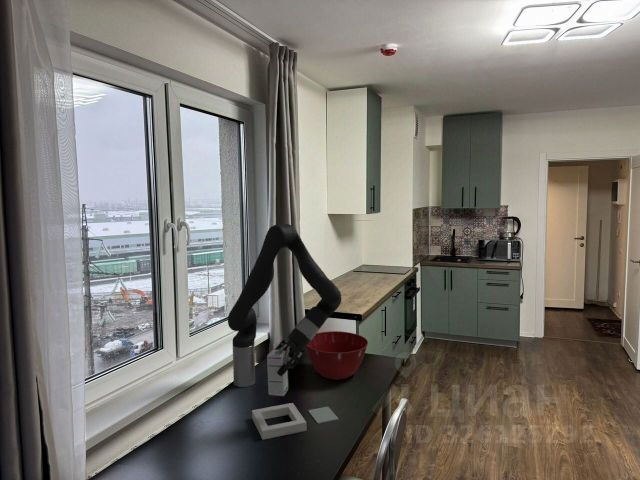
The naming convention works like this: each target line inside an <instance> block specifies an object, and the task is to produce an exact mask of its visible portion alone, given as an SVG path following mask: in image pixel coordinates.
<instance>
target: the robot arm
mask: <svg viewBox="0 0 640 480" xmlns="http://www.w3.org/2000/svg"><path fill="white" fill-rule="evenodd" d="M283 248H287V249H288V250H289V251H290V252H291V253H292V254H293V255H294V257H295V259H296V261H297V266H298V269H299V271H300V273H301V275H302V277H303V278H304V280H305V281H306V283H308V285H309V286H310V287H311V288H312V289H313V290H315V292H316V293H317V295H318V296H319V297H320V298H321V299H320V300H319V301H318V303H316V305H315V306H312V307H311V308H310V309H309V310H308V311H307V313H306V314H305V315H304V316H303V318H301V320H299V321H298V323H297V324H296V325H295V326H294V328H293V329H292V330H291V332H290V333H289V334H288V335H287V339H288V341H286V340H285V339H281V341H280V342H279V344H278V345H277V346H276V347H274V350H286V356H285V362H284V364H283V365H282V366H281V368H280V369H279V370H278V371H277V374H278V375H280V376H283V374H284V373H285V372H286V371H287V369H294V368H295V367H296V365H298V363H299V362H300V361H301V359H302V358H303V357H304V354H303V352H302V351H304V350H306V349H307V346H308V344H309V343H310V342H311V340H312V339H313V338H314V337H315V335H316V334H317V333H319V330H320V329H321V328H322V326H323V325H324V323H326V321H327V320H328V318H330V317H331V315H333V313H334V312H336V310H338V308H340V305H341V303H342V294H341V291H340V289H339V287H337V286H336V284H334V282H333V281H332V280H331V279H330V278H329V277H328V276H327V275H326V273H325V272H324V271H323V270H322V268H321V267H320V266H319V265H318V264H317V262H316V261H315V260H314V258H313V257H312V255H311V254H310V251H309V250H308V249H307V247H306V245H305V243H304V242H303V239H302V238H301V236H300V234H299V233H298V231H297V229H296V228H295V227H294V226H293V225H291V224H289V223H280V224H279V223H277V224H274V225H271V226H270V227H269V228H268V230H267V231H266V235H265V237H264V240H263V242H262V246H261V249H260V251H259V253H258V256H257V258H256V260H255V264H254V265H253V267H252V269H251V271H250V273H249V275H248V277H247V279H246V282H245V284H244V286H243V288H242V290H241V293H240V294H239V296H238V299H237V300H236V302H235V303H234V305H233V307H232V308H231V310H230V312H229V313H228V317H227V325H228V328H230V330H232V331H233V332H237V333H236V334H235V335H234V336H233V338H232V369H233V370H232V372H233V373H232V374H233V377H232V378H233V385H234V386H235V387H238V388H246V387H247V388H249V387H251V386H253V385H255V384H256V361H255V360H256V357H255V356H256V355H255V353H256V352H255V347H256V346H255V340H256V338H257V313H256V311H255V310H254V308H253V307H254V306H255V304H256V303H257V302H259V300H261V298H262V297H264V295H265V294H266V292H267V291H268V289H269V288H270V286H271V284H272V282H273V279H274V276H275V268H274V267H275V266H274V265H275V264H274V263H275V259H276V258H277V256H278V253H279V252H280V250H281V249H283ZM301 350H302V351H301Z"/></svg>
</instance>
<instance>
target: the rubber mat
mask: <svg viewBox="0 0 640 480" xmlns="http://www.w3.org/2000/svg"><path fill="white" fill-rule="evenodd" d="M307 411H308V413H309V414H310V415H311V417H312V418H313V419H314V421H315V422H316V424H317V425H319V424H324V423H329V422H333V421H339V420H340V419H339V417H338V416H337V415H336V414H335V412H333V410H332V409H331V408H330V407H329V406H324V407H319V408H313V409H308V410H307Z"/></svg>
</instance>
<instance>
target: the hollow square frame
mask: <svg viewBox="0 0 640 480" xmlns="http://www.w3.org/2000/svg"><path fill="white" fill-rule="evenodd" d="M284 416H288V417H289V418H290V420H291V421H289V422H288V421H287V422H283V423H282V422H281V423H277V424H276V423H275V424H272V425H271V424H270V425H268V424H267V422H266V420H267V419H274V418H277V417H284ZM251 419H252V421H253V423H254V424H255V427H256V429H257V431H258V433H259V435H260V437H261V439H262V441H264V440H269V439H273V438H279V437H281V436H283V437H284V436H286V435H291V434H297V433H302V432H307V430H308V429H307V428H308V427H307V424H308V423H307V421H306V420H305V418H304V417H303V415H302V414H301V413H300V411H299V409H298V408H297V407H296V405H295V404H294V403H293V402H291V403H290V402H289V403H285V404H279V405H273V406H269V407H268V406H267V407H264V408H258V409H253V410H251Z"/></svg>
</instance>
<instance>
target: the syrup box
mask: <svg viewBox="0 0 640 480" xmlns="http://www.w3.org/2000/svg"><path fill="white" fill-rule="evenodd" d="M285 356H286V350H279V349H278V350H275V349H272V350H271V351H270V352H269V353H268V354H267V355H266V361H267V364H266V366H267V386H268V387H267V388H268V389H267V390H268V392H267V393H268V395H270V396H277V397H284V396H285V395H286V394H287V392H288V390H289V370H288V369H289V368H288V369H287V371H286V372H285V373H284V374H283V376H280V375H278V374H277V371H278V370H279V369H280V368H281V366H282V365H283V364H284V362H285Z"/></svg>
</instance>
